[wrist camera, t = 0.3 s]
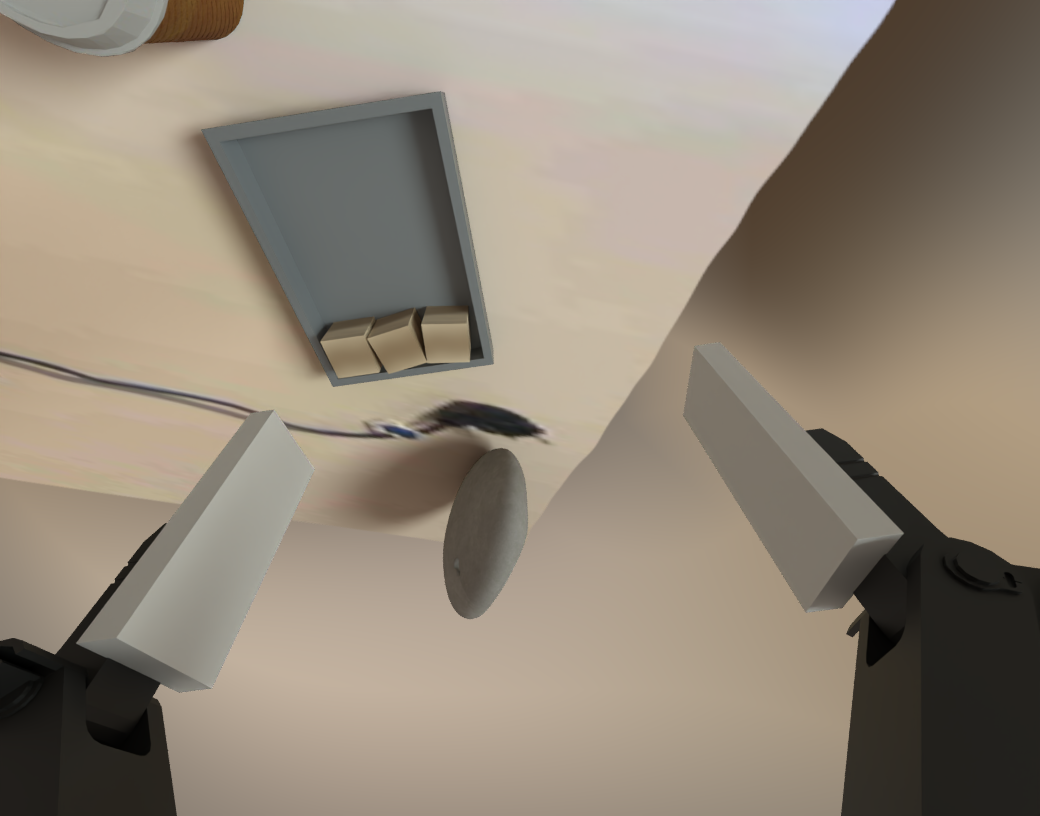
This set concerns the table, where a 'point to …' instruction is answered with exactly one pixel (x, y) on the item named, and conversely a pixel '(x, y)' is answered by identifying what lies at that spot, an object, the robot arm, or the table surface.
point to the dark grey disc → (485, 532)
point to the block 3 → (447, 334)
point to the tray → (360, 216)
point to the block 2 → (399, 340)
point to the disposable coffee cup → (123, 22)
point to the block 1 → (351, 348)
